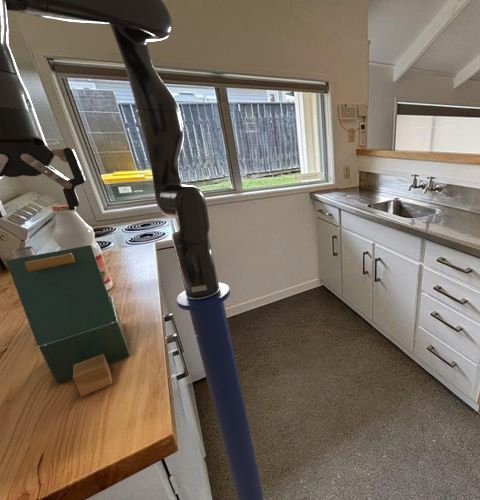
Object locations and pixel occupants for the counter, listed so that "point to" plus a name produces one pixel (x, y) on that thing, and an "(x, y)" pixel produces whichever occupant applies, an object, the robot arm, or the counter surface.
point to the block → (91, 374)
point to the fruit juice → (78, 237)
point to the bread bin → (85, 347)
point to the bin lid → (61, 293)
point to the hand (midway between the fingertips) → (39, 213)
